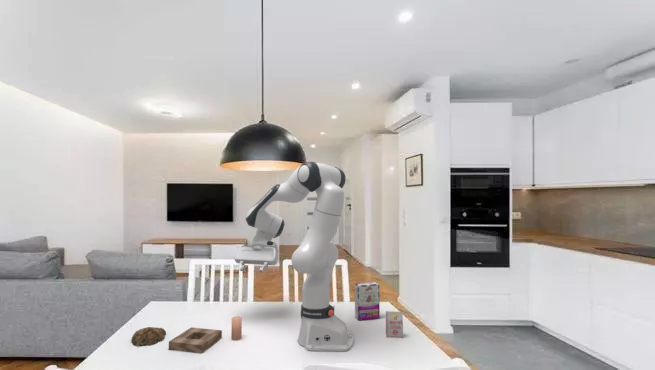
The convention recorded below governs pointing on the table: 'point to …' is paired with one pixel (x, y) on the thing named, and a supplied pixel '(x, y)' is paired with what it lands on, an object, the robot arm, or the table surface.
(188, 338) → the pin board
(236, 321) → the pin
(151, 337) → the bread roll
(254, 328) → the table surface
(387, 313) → the white red box
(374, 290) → the candy bar box
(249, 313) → the table surface
